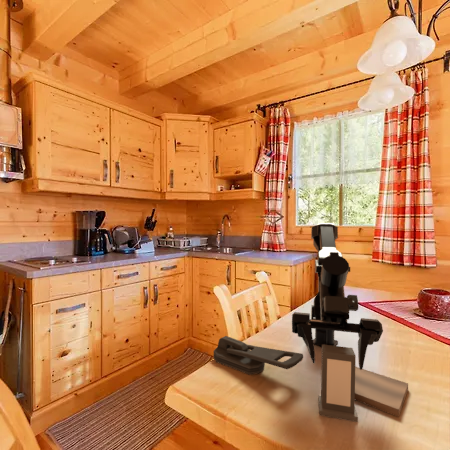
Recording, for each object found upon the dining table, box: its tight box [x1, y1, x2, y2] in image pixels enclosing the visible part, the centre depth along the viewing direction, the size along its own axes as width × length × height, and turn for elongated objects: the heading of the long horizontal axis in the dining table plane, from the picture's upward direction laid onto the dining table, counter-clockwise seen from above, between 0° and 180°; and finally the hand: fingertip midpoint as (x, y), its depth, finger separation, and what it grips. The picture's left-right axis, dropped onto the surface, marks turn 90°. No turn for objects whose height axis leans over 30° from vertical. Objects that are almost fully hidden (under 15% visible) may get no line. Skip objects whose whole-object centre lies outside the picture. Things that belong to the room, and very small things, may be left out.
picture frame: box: [317, 344, 359, 423], centre depth 58 cm, size 5×7×12 cm
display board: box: [355, 366, 409, 418], centre depth 65 cm, size 12×12×2 cm
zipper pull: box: [213, 335, 304, 376], centre depth 75 cm, size 9×7×25 cm
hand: (337, 365), depth 59 cm, fingers open, 9 cm apart
